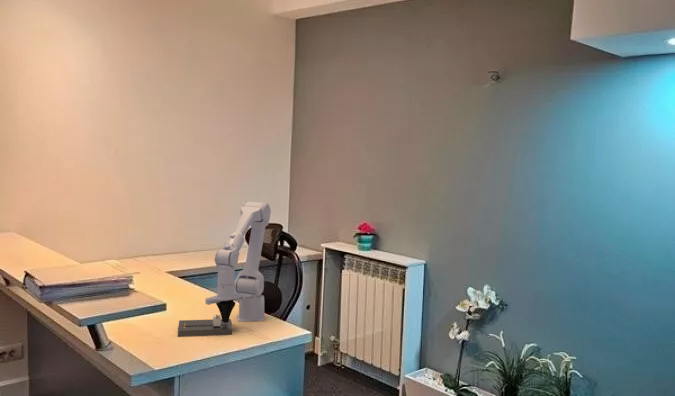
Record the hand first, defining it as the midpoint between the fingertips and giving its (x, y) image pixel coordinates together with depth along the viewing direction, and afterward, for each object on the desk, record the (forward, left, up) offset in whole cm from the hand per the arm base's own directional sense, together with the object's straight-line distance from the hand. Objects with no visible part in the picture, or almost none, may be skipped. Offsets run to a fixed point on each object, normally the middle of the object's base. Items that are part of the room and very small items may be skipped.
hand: (225, 321), depth 206 cm
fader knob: (+3, 0, -1) cm, 3 cm away
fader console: (+7, -1, -3) cm, 8 cm away
